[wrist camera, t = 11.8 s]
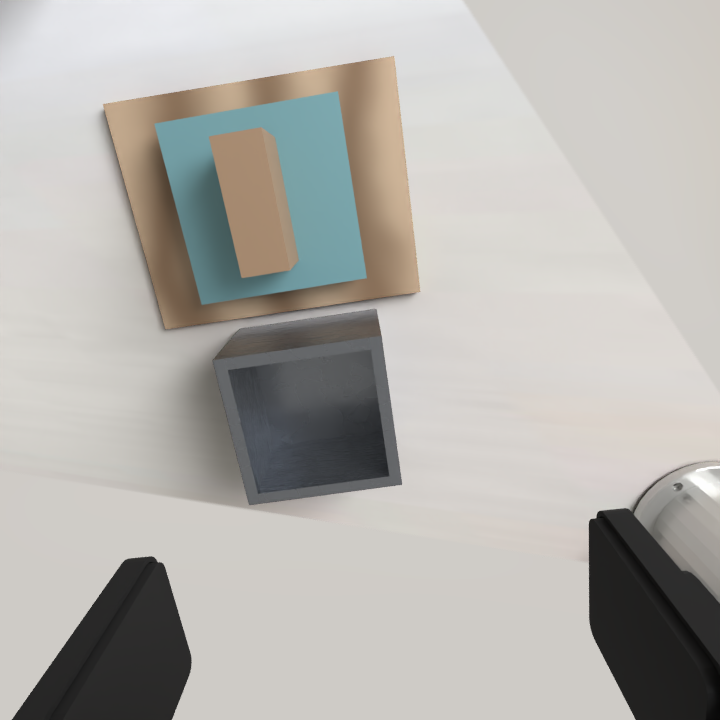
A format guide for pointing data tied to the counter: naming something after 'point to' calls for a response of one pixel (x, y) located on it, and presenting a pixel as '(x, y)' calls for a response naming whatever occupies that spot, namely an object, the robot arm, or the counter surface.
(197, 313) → the wooden board
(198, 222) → the lid
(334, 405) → the tin
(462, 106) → the counter surface
